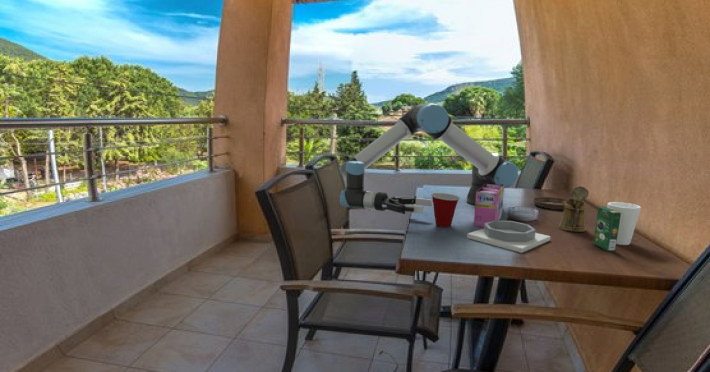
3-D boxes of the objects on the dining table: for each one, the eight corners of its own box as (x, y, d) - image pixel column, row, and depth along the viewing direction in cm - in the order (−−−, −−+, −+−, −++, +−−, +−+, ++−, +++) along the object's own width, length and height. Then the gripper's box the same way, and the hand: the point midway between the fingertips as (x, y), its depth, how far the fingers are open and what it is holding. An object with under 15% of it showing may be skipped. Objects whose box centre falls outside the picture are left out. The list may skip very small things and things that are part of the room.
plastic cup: (458, 230, 154) (460, 198, 152) (429, 228, 156) (430, 196, 154) (457, 222, 164) (459, 192, 162) (430, 220, 166) (431, 191, 164)
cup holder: (497, 227, 157) (498, 216, 157) (550, 240, 143) (551, 227, 142) (466, 237, 144) (467, 225, 144) (521, 252, 130) (522, 239, 129)
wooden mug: (561, 234, 150) (566, 185, 147) (557, 224, 163) (562, 179, 160) (589, 237, 147) (595, 187, 144) (582, 227, 160) (588, 181, 156)
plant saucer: (533, 201, 207) (533, 195, 206) (572, 204, 200) (573, 198, 199) (531, 208, 191) (532, 201, 191) (574, 212, 184) (575, 206, 183)
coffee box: (616, 252, 132) (622, 212, 129) (607, 252, 131) (613, 212, 129) (601, 244, 139) (605, 206, 137) (592, 244, 139) (597, 206, 137)
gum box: (484, 212, 181) (486, 182, 179) (502, 214, 178) (505, 183, 175) (473, 225, 160) (475, 191, 158) (494, 228, 157) (497, 193, 154)
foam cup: (596, 239, 144) (601, 203, 142) (614, 236, 148) (619, 201, 146) (623, 247, 136) (628, 209, 133) (641, 244, 139) (647, 207, 137)
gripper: (386, 203, 181) (434, 209, 173) (364, 216, 159) (418, 223, 151) (386, 187, 180) (435, 191, 172) (364, 197, 158) (419, 203, 149)
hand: (427, 206), depth 161 cm, fingers open, 13 cm apart
